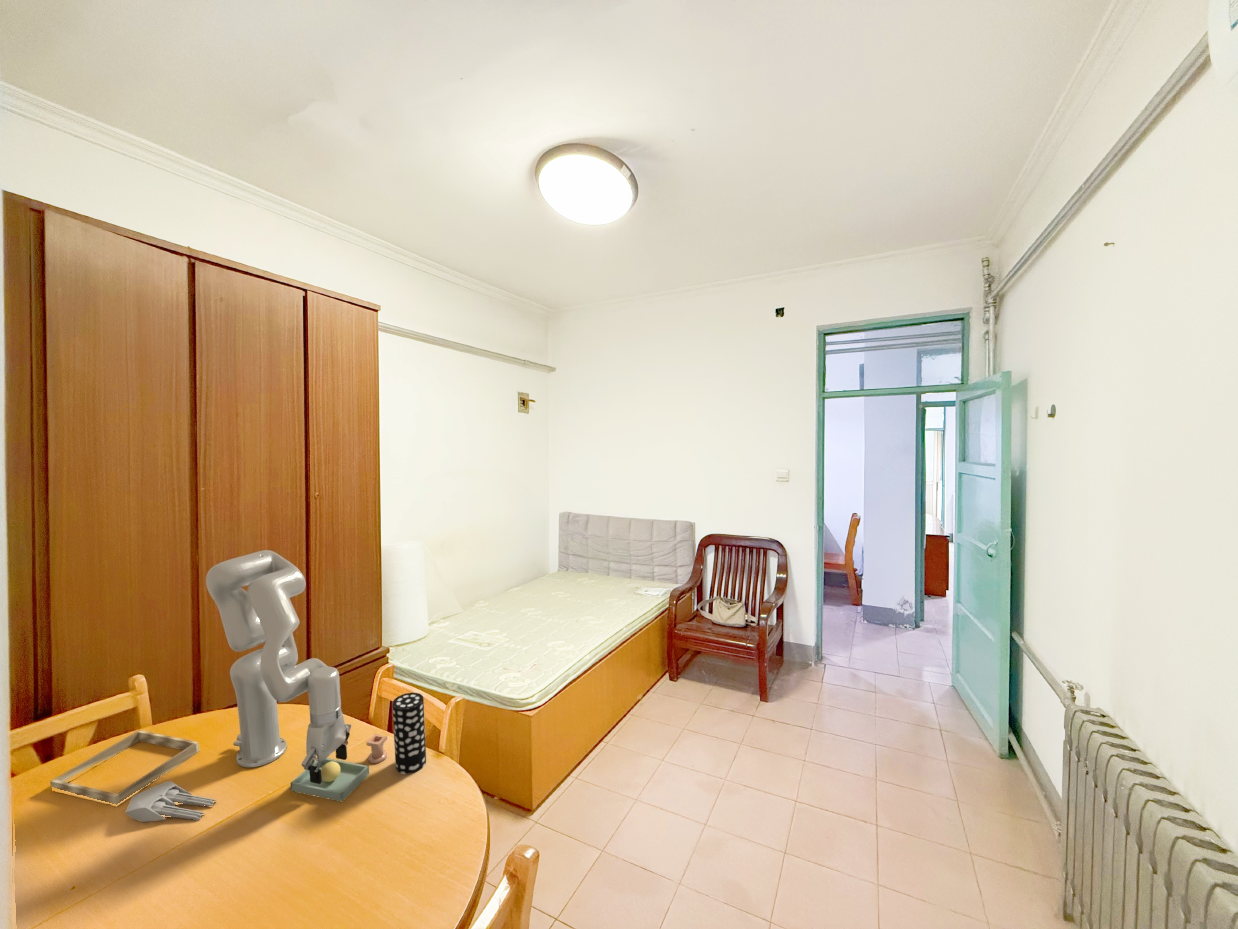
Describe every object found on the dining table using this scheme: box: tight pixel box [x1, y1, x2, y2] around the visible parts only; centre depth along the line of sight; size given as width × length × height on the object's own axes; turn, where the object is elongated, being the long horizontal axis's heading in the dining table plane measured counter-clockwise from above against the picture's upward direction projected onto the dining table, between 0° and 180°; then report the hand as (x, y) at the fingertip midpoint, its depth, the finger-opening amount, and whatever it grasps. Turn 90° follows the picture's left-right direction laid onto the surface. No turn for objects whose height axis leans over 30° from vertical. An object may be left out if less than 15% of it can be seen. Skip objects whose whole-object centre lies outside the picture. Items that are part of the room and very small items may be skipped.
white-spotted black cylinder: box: [392, 692, 427, 775], centre depth 162 cm, size 8×8×20 cm
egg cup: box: [365, 733, 388, 764], centre depth 165 cm, size 5×5×6 cm
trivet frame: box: [49, 730, 200, 805], centre depth 159 cm, size 23×23×3 cm
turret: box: [125, 780, 218, 823], centre depth 145 cm, size 10×20×5 cm, turn 88°
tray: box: [290, 757, 370, 802], centre depth 156 cm, size 16×11×2 cm
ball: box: [321, 761, 340, 782], centre depth 155 cm, size 5×5×5 cm
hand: (329, 770), depth 155 cm, fingers open, 9 cm apart
